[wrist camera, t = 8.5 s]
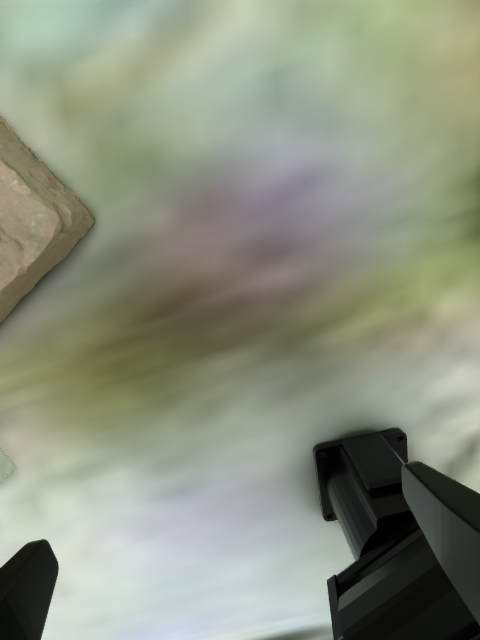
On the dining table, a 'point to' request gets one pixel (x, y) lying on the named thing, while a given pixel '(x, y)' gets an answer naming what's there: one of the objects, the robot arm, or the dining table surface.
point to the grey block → (5, 466)
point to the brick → (32, 220)
